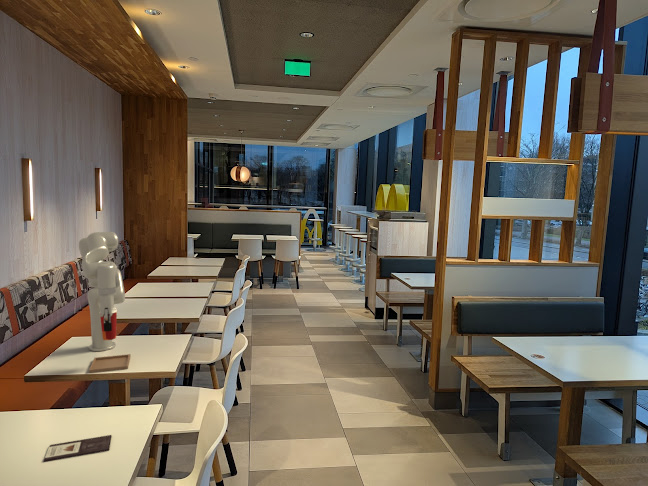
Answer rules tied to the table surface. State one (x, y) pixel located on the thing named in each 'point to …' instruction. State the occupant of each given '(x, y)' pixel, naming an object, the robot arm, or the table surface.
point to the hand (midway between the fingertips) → (109, 328)
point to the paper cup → (112, 334)
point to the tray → (110, 363)
